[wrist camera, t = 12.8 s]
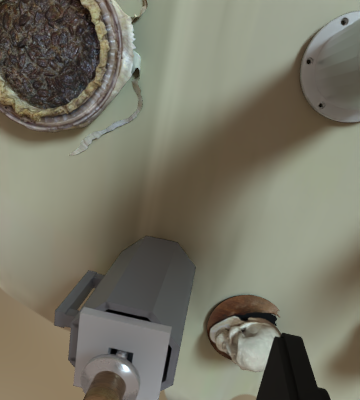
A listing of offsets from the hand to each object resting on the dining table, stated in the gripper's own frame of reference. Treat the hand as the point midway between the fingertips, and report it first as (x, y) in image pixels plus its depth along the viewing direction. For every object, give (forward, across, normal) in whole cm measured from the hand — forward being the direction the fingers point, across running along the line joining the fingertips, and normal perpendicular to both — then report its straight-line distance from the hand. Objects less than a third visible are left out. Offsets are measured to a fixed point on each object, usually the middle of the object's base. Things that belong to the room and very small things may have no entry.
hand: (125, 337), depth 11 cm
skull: (+39, -11, +25) cm, 48 cm away
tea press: (+38, +6, +19) cm, 43 cm away
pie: (+39, +22, -11) cm, 46 cm away
